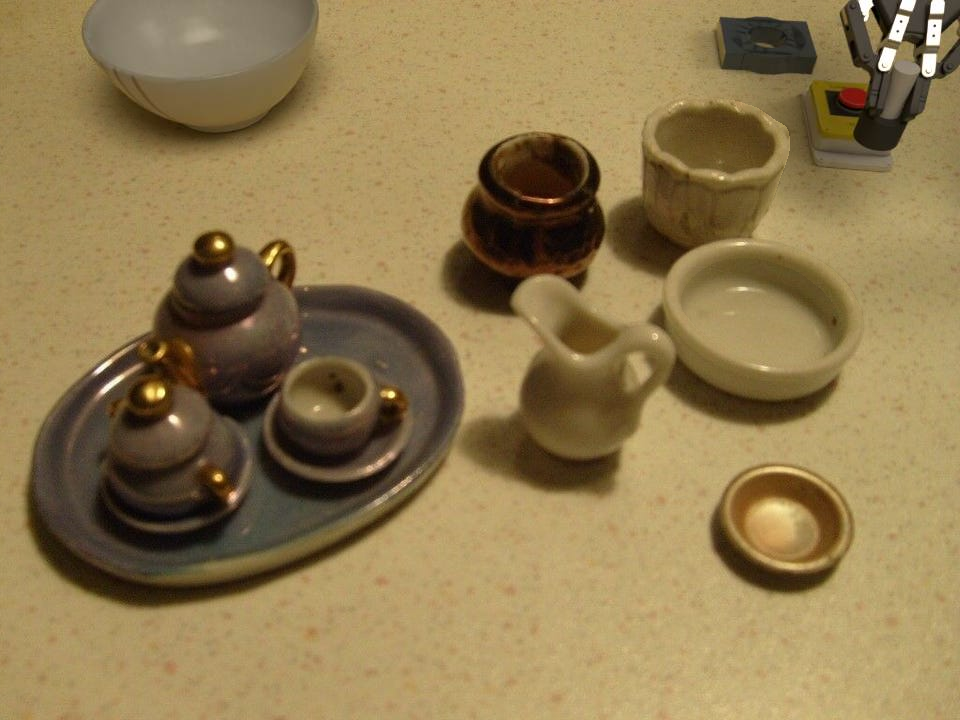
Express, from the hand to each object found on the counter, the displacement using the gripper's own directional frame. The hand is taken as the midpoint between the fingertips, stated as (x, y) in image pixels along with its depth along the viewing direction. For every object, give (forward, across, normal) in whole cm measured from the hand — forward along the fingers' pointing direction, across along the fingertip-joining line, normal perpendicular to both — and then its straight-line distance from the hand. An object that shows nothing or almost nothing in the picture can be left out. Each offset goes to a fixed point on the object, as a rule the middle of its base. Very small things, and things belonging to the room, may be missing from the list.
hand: (892, 116), depth 82 cm
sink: (-14, -8, +37) cm, 41 cm away
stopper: (+1, 0, +4) cm, 4 cm away
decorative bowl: (+6, -75, +17) cm, 77 cm away
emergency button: (-3, +2, +26) cm, 26 cm away
